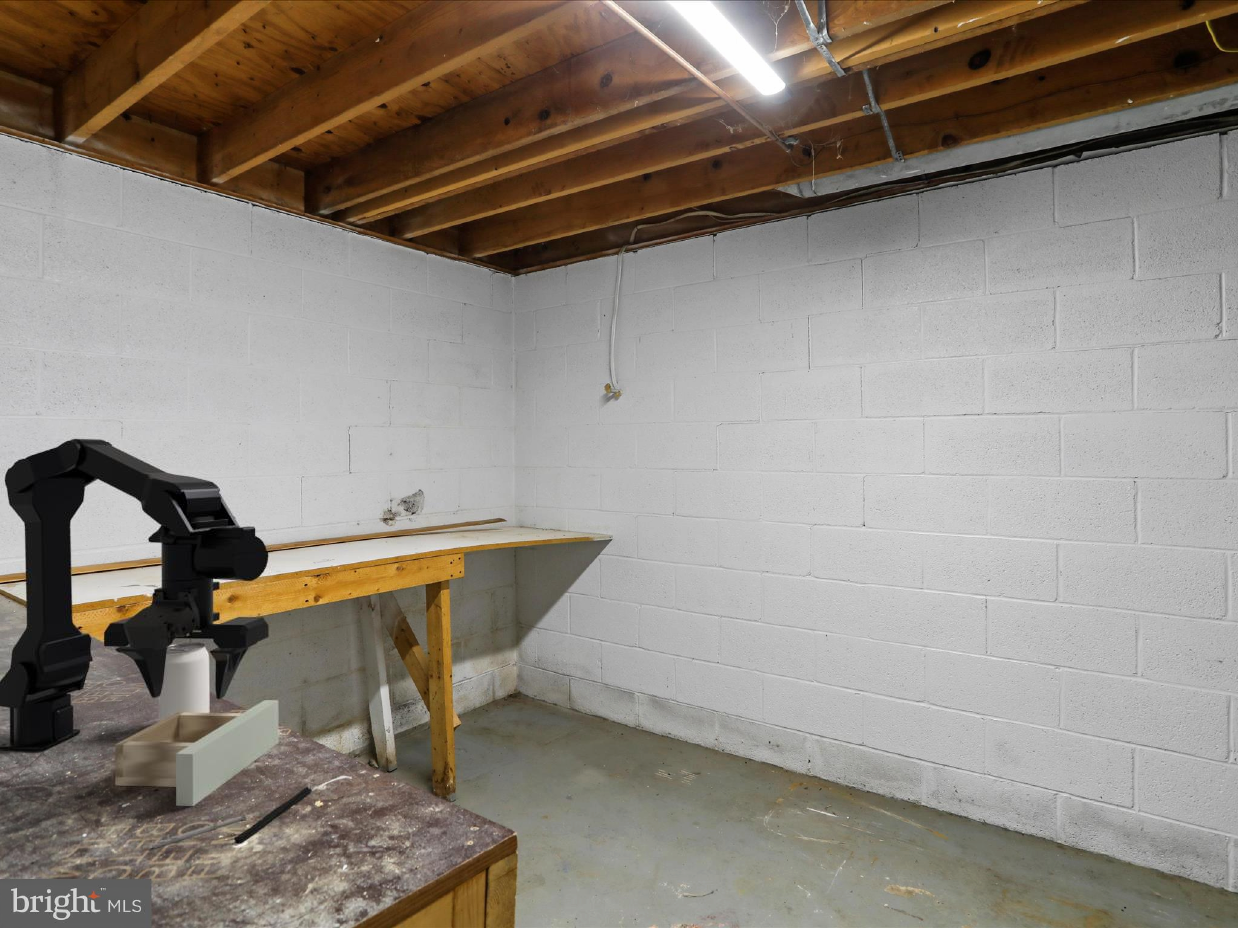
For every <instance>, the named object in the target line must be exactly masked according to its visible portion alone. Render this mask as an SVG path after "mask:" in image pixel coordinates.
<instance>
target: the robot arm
mask: <svg viewBox="0 0 1238 928" xmlns="http://www.w3.org/2000/svg"><path fill="white" fill-rule="evenodd" d="M97 480H99V481H101V482H102V483H104V484H107V485H109V486H110V487H112V488H115V489H117V490H118V491H120V492H123V493H124V494H127V495H129V496H130V497H132V498H134V499H136V500H137V501H138V502H139V503H140V505H141V509H142V512H143V513H145V514H146V515H147V516H148V517H150V519H152V520H153V521H155V522H156V524H158V525H160V526H159V528H158V529H157V530H156V531H155V532H153V533H152V534H151V535H150V536H149V537H148V538H147V540H148V541H147V542H149V543H151V544H152V543H154V544H158V543H159V544H161V550H160V551H161V553H160V554H161V587H158V588H154V590H153V593H152V600H151V604H150V605H148V606H146V607H144V608H142V609H141V610H140V611H137V613H136V614H135V615H133V616H130V617H127V618H123V619H120V620H116V621H113V622H110V623H108V626H107V627H106V629H105V630H104V632H103V646H104V647H109V648H110V647H111V648H112V647H113V648H115V649H114V650H115V651H116V652H117V653H119V654H123V655H125V656H127V657H128V658H130V659H131V660H133V661H134V663H135V665H136V666H137V668H138V670H139V672H140V675H141V677H142V679H143V680H144V681H143V682H144V683H145V685H146V688H147V690H148V692H149V694H150V696H151V698H153V699H156V698H158V696H160V695H161V690H162V686H163V680H164V671H165V662H166V653H167V647H168V646H171V645H173V643H174V640H175V639H184V640H185V639H189V640H190V639H191V640H192V639H193V640H194V639H195V640H196V639H198V640H199V639H200V640H201V639H202V640H205V639H206V640H207V639H208V640H212V641H213V643H214V644H215V646H217V647H216V648H213V649H212V650H209V654H211V656H212V657H213V659H214V661H215V675H214V676H215V677H214V678H215V680H214V681H215V683H214V684H215V696H216V697H215V698H216V699H217V700H221V699H223V698H224V697H225V696H226V695H227V691H228V690H229V687H230V685H231V683H232V680H233V678H234V676H235V675H236V672H237V669H238V667H239V665H240V664H241V662H242V660H243V658H244V657H245V655H246V653H247V652H248V649H249V648H251V647H253V646H255V645H257V644H258V643H259V642H260V641H263V640H265V639H268V638H269V626H270V625H269V624H268V622H267V621H266V619H265V618H264V617H263V616H238V617H234V618H231V619H229V620H226V621H224V622H221V623H214V622H218V621H220V617H221V613H220V612H219V611H215V612H214V591H218V590H221V589H220V587H221V586H220V584H221V583H220V581H221V580H222V581H224V580H225V581H241V582H252V581H255V580H257V579H258V578H260V576H262V574H264V572H265V570H266V568H267V565H268V562H269V551H268V550H267V547H266V544H265V543H264V541H263V540H262V538H260V537H258V536H257V535H256V527H255V526H241V525H239V523H238V521H237V519H236V517H235V516H234V515H233V512H232V511H231V509H230V508H229V506H228V505H227V503H226V501H225V500H224V498H223V496H222V494H221V489H220V488H219V486H218V485H217V484H216V483H214V482H213V481H212V480H211V481H210V480H208V479H207V480H206V479H202V478H199V477H194V476H189V475H182V474H174V473H170V472H166V471H164V470H162V469H160V468H159V467H156V466H154V465H152V464H150V463H148V462H146V461H144V460H142V459H140V458H138V457H135V456H133V455H132V454H129V453H127V452H125V451H123V450H121V449H119V448H117V447H115V446H113V444H112V443H111V442H109V441H106V440H105V439H98V438H97V439H96V438H94V439H93V438H72V439H70V440H67V441H64V442H63V443H61V444H59V445H58V446H56V447H53V448H50V449H46V450H43V451H40V452H37V453H34V454H30V455H29V456H26V457H25V458H21V459H18V460H16V461H15V462H14V463H13V465H11V467H9V468H8V469H7V470H6V473H5V476H4V484H5V485H4V486H5V487H6V492H7V498H8V504H9V506H10V508H12V510H13V511H14V512H15V513H16V515H17V516H18V517H19V519H21V521H22V522H23V524H24V525H23V526H24V553H25V554H24V555H25V558H24V559H25V599H26V601H25V604H26V605H25V606H26V607H25V608H26V627H25V630H24V631H23V633H22V634H21V636H19V637H20V638H19V639H18V640H17V642H16V644H15V645H14V646H13V648H12V650H11V658H10V667H9V669H8V671H6V673H5V675H4V676H2V678H1V680H0V708H1V707H2V708H9V741H7V742H3V743H2V744H0V750H4V751H5V750H12V751H15V750H17V751H42V750H46V749H48V748H51V747H53V746H56V745H57V744H59V743H61V742H64V741H65V740H68V739H70V738H73V737H74V736H76V735H78V734H80V733H81V729H80V728H74V705H73V704H72V694H71V693H73V692H77V691H82V690H83V689H84V686H85V683H86V680H87V675H88V673H89V671H90V665H91V662H93V660H94V658H93V656H92V651H91V650H92V649H91V648H92V637H91V634H90V633H87V632H86V633H82V632H81V630H80V629H79V628H78V627H77V626H76V625H75V623H74V621H73V590H72V588H73V587H72V583H73V580H72V543H71V542H72V538H71V537H72V536H71V529H72V528H71V522H72V519H73V518H74V516H75V515H76V513H77V512H78V510H79V509H80V507H81V506H82V505H83V503H84V501H85V492H86V487H87V486H89V485H91V484H92V483H94V482H96V481H97ZM214 580H220V581H214Z"/></svg>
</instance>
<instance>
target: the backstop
mask: <svg viewBox="0 0 1238 928" xmlns="http://www.w3.org/2000/svg"><path fill="white" fill-rule="evenodd" d="M242 713H243V714H241V715H239V716H238V717H236V718H234V719H233V720H231V721H229V722H228V723H226V724H224V725H223V726H221V727H219V728H218V729H216V730H214V731H213V732H211V733H209V734H208V735H206V736H204V737H203V738H201V739H200V740H198V741H196V742H195V743H193V744H191V745H190V746H188V747H186V748H185V749H183V750H181V751H180V752H178V753H176V787H175V789H176V790H175V792H176V796H175V798H176V799H175V802H176V803H175V804H176V805H175V806H178V807H194V806H195V805H197V804H198V803H199V802H201V801H202V800H204V799H205V798H207V796H209V795H210V794H212V793H214V791H216V790H217V789H218V788H219V787H221V786H223V785H224V784H225V783H227V782H228V781H229V780H230V779H232V778H234V777H235V776H236V775H237V774H239V773H240V772H241V771H242V770H244V769H245V768H247V767H248V766H250V765H252V763H254V762H255V761H256V760H258V759H259V758H261V757H262V756H263V755H264V754H266V753H267V752H268V751H270V750H272V748H274V747H275V746H277V745H278V744H279V742H280V741H279V700H276V699H275V700H274V699H272V700H271V699H267V700H266V699H264V700H262V701H260V702H259V703H257V704H256V705H254V706H253V707H251V708H250V709H248V710H246V711H244V712H242Z"/></svg>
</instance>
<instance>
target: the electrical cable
mask: <svg viewBox="0 0 1238 928" xmlns="http://www.w3.org/2000/svg"><path fill="white" fill-rule="evenodd" d="M315 787H316V785H313V784H310V785H308V786H305V787H304V788H303V789H301V790H300V791H299V792H298V793H297V794H295V795H294V796H292V798H290V799H288V800H287V801H285V802H283V803H282V804H281V805H279V806H278V807H276V808H274V809H273V810H271V811H270V812H269V813H267V814H266V815H265V816H263V817H262V818H260V820H258V821H256V823H254V824H253V825H252V826H250V827H249V828H248V829H246V830H244V831H242V832H240V833H239V834H238V835H237V836H235V837H234V838H233V839H234V843H235V844H239V845H241V844H243V843H244V842H246V841H247V840H249V839H251V838H252V837H253V836H254V835H255V834H256V833H258V832H259V831H260V830H262V829H263V828H264V827H266V826H267V825H268V824H269V823H272V821H274V820H275V819H277V818H278V817H280V816H281V815H283V814H284V813H286V812H287V811H288V810H290V809H292V808H293V807H294V806H295V805H297V804H298V803H299V802H300V801H302V800H303V799H304V798H305V797H306V796H308V795H309V794H311V792H312V791H314V790H315V789H314V788H315Z"/></svg>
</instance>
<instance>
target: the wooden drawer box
mask: <svg viewBox="0 0 1238 928" xmlns="http://www.w3.org/2000/svg"><path fill="white" fill-rule="evenodd" d="M243 713H244V712H241V713H237V712H235V713H234V712H209V713H190V712H177V713H175V714H173V715H171V716H169V717H167V718H165V719H163V720H161V721H159V722H158V721H157V722H155V723H154V724H152V725H150V726H148V727H146V728H144V729H142V730H140V731H139V732H137V733H135V734H133V735H131V736H129V737H127V738H125V739H123V740H121V741H119V742H117V743H116V744H114V754H115V756H114V757H115V759H114V760H115V761H114V762H115V764H114V765H115V767H114V769H115V771H114V772H115V774H114V777H115V781H114V782H115V786H122V787H123V786H125V787H126V786H127V787H129V786H132V787H133V786H134V787H135V786H136V787H164V788H165V787H167V788H168V787H169V788H170V787H171V788H173V787H174V788H176V753H178V752H180V751H181V750H183V749H185V748H186V747H188V746H190V745H191V744H193V743H195V742H196V741H198V740H200V739H201V738H203V737H204V736H206V735H208V734H209V733H211V732H213V731H214V730H216V729H218V728H219V727H221V726H223V725H224V724H226V723H228V722H229V721H231V720H233V719H234V718H236V717H238V716H239V715H241V714H243Z"/></svg>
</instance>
